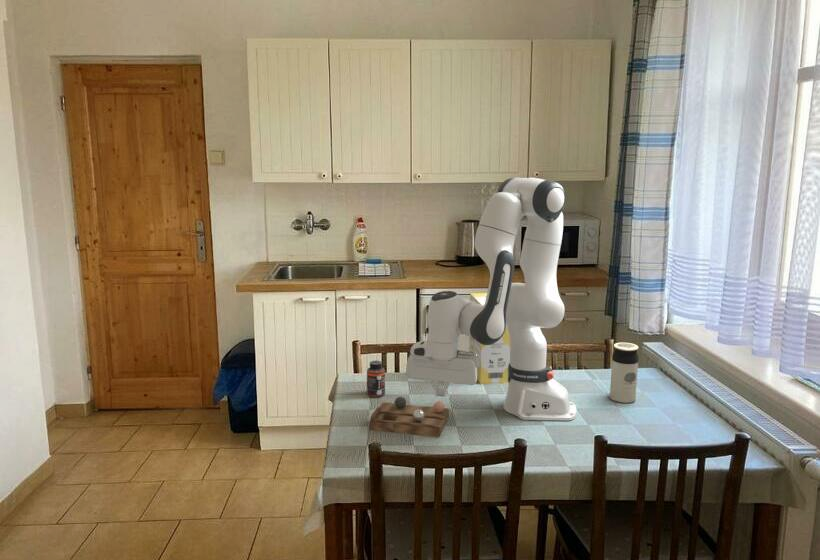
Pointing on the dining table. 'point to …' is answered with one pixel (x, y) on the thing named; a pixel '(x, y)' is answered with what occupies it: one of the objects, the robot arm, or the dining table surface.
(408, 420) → the race deck
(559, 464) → the dining table surface
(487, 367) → the pasta box
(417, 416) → the steel ball
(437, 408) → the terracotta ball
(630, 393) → the travel mug
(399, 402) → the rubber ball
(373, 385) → the supplement bottle
